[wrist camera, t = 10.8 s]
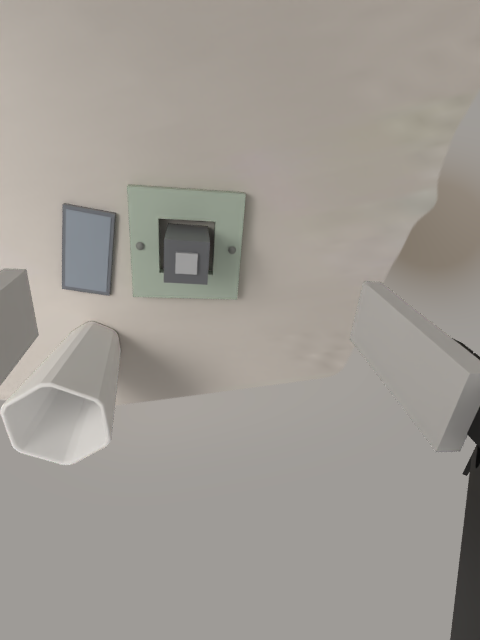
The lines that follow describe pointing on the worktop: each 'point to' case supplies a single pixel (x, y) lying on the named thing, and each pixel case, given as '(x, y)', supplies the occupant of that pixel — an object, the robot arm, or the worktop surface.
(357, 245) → the worktop surface
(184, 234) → the block
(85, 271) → the phone
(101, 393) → the cup
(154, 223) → the outlet plate
